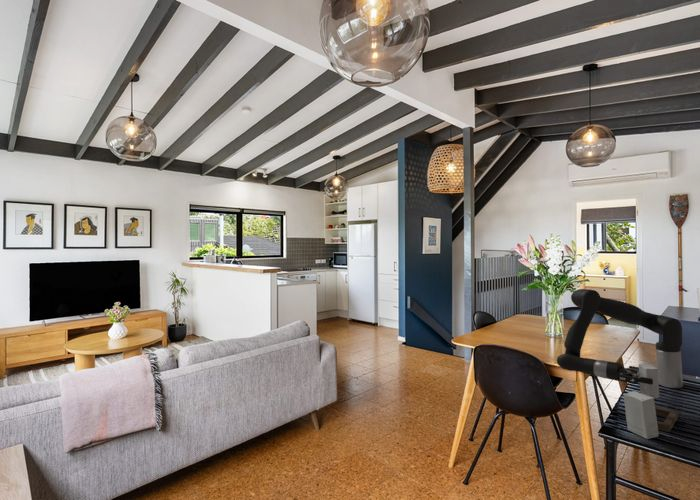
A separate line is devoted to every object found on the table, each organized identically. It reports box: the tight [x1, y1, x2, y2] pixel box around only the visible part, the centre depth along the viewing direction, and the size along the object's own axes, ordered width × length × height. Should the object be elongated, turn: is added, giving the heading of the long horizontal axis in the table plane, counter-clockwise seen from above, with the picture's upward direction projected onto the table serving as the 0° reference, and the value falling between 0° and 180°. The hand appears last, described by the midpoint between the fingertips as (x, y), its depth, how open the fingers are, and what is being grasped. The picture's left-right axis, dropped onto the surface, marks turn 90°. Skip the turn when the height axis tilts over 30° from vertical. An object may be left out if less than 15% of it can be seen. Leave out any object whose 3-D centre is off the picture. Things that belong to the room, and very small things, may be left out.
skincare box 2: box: [623, 390, 660, 440], centre depth 147 cm, size 8×6×15 cm
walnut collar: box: [624, 406, 679, 433], centre depth 156 cm, size 15×14×2 cm
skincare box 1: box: [638, 363, 660, 399], centre depth 155 cm, size 6×4×12 cm
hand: (655, 378), depth 154 cm, fingers closed on skincare box 1, 7 cm apart
